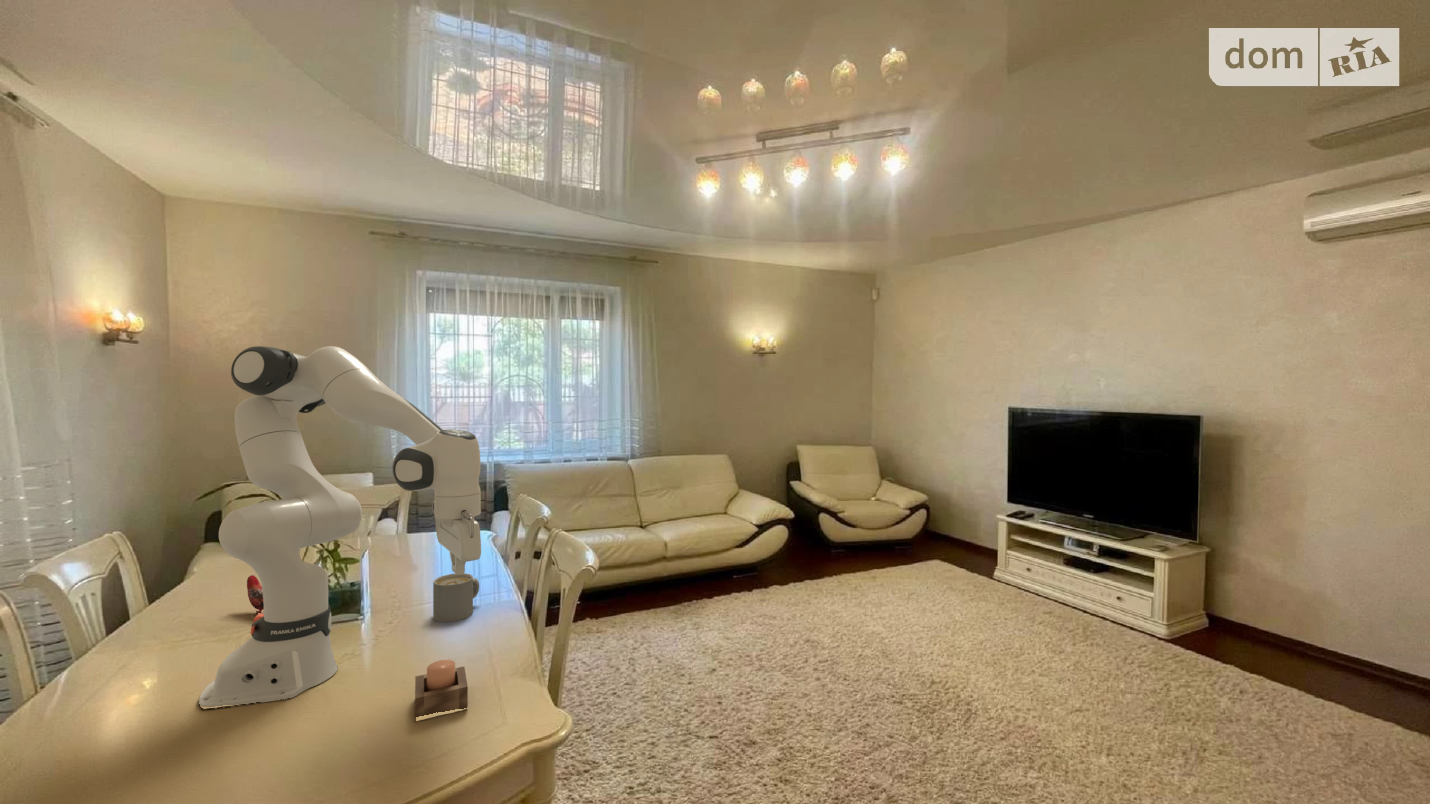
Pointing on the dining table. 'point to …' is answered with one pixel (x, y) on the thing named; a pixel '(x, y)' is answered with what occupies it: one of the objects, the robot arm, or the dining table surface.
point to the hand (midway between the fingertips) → (458, 572)
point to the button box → (441, 695)
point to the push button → (440, 675)
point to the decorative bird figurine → (255, 593)
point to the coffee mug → (454, 597)
